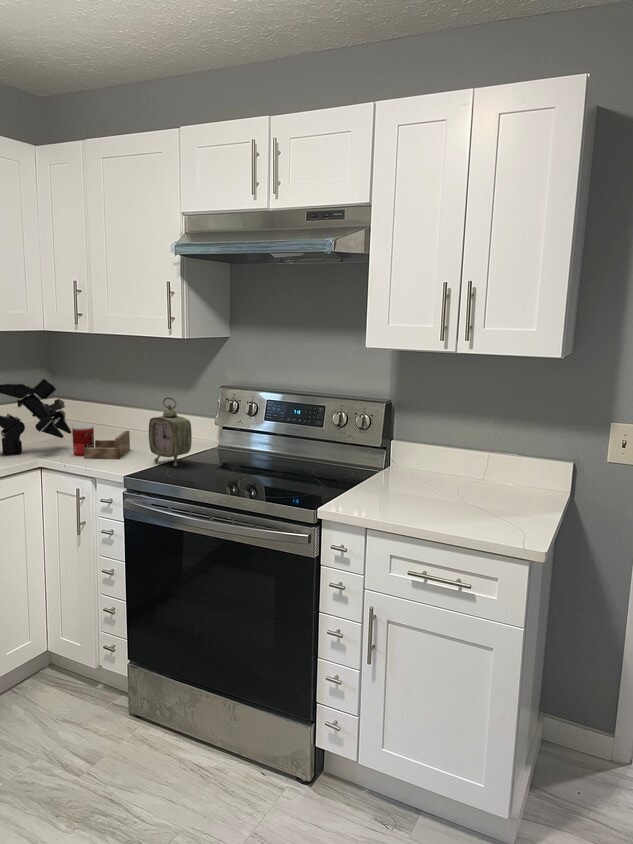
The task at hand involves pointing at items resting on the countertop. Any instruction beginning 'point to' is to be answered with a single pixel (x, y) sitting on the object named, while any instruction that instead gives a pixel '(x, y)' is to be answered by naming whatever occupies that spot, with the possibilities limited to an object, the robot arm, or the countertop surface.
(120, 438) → the cradle
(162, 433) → the tabletop clock
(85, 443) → the canned food
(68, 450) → the countertop surface
